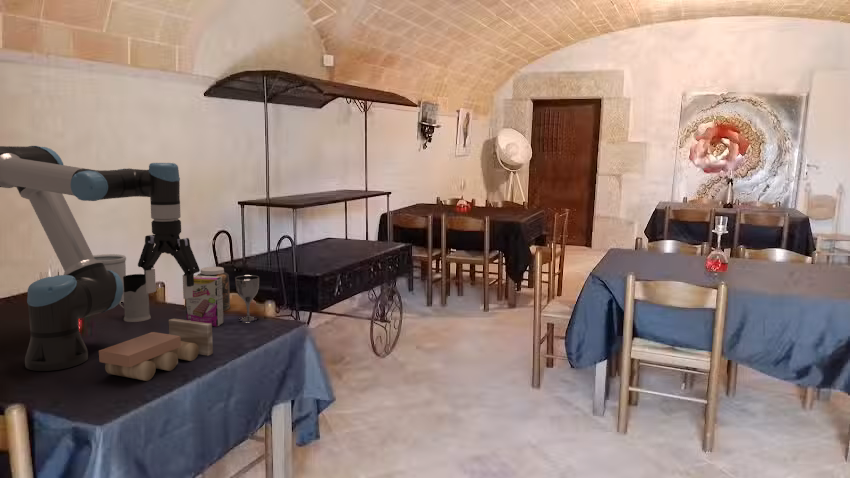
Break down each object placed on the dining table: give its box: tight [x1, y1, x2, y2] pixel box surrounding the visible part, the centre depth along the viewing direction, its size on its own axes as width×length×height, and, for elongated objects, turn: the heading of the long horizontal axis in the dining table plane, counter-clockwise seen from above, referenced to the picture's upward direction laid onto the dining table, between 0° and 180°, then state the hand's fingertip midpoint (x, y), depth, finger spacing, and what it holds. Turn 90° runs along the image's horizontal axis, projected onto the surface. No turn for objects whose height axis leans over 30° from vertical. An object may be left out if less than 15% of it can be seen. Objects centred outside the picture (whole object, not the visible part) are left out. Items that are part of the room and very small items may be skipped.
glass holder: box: [118, 273, 152, 323], centre depth 221 cm, size 9×14×15 cm, turn 81°
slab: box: [98, 331, 181, 367], centre depth 169 cm, size 18×10×3 cm, turn 159°
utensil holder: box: [93, 253, 127, 304], centre depth 242 cm, size 15×15×18 cm
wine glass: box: [234, 274, 260, 321], centre depth 221 cm, size 8×8×15 cm
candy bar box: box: [185, 274, 224, 327], centre depth 214 cm, size 11×5×16 cm, turn 84°
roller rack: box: [104, 317, 214, 382], centre depth 176 cm, size 26×14×9 cm, turn 159°
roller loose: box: [170, 341, 199, 362], centre depth 182 cm, size 5×11×5 cm, turn 70°
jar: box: [196, 266, 231, 312], centre depth 235 cm, size 12×12×15 cm
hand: (169, 295), depth 178 cm, fingers open, 13 cm apart
